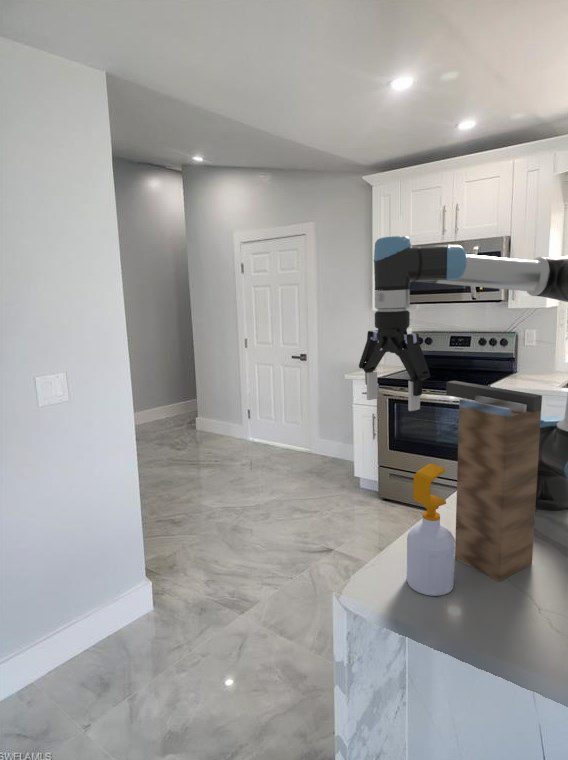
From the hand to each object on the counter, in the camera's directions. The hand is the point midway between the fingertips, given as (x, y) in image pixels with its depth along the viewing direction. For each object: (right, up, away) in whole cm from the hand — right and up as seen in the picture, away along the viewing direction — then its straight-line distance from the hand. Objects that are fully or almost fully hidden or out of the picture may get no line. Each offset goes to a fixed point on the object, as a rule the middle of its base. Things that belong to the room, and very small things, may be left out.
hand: (392, 404), depth 114 cm
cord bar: (+19, +1, -7) cm, 21 cm away
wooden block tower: (+20, -33, -6) cm, 40 cm away
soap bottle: (+5, -36, -13) cm, 38 cm away
